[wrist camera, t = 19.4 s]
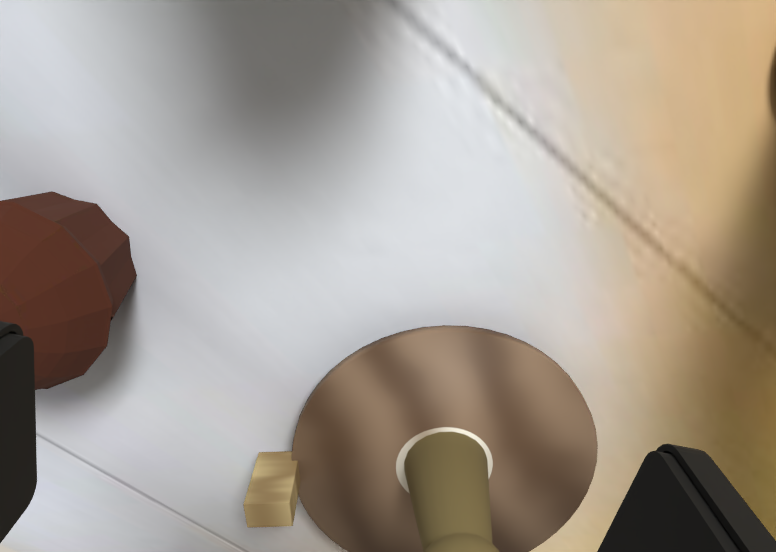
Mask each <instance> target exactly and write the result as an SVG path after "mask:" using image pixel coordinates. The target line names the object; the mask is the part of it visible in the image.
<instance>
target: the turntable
mask: <svg viewBox="0 0 776 552" xmlns="http://www.w3.org/2000/svg"><path fill="white" fill-rule="evenodd" d="M437 432H457V433H461V434H465V435H467V436H469V437H471V438H473V439H474V440H476V441H477V442H478V443H479V444H480V445H481V446H482V448H483V449H484V451H485V454H486V457H487V462H488V478H489V494H490V511H491V527H492V543H493V545H494V546H495V547H496V548H497V549H498V550H499V552H529V551H531V550H532V549H534V548H535V547H537V546H539V545H540V544H542V543H543V542H545V541H546V540H547V539H548V538H550V537H551V536H552V535H553V534H555V533H556V532H557V531H558V530H559V529H560V528H561V527H562V526H563V525H564V524H565V523H566V522H567V521H568V520H569V519H570V518H571V516H572V515H573V514H574V512H575V511H576V510H577V508H578V507H579V506H580V504H581V502H582V500H583V499H584V497H585V495H586V493H587V491H588V489H589V486H590V484H591V481H592V479H593V475H594V471H595V466H596V462H597V436H596V429H595V425H594V422H593V418H592V415H591V412H590V410H589V408H588V406H587V404H586V402H585V400H584V398H583V396H582V394H581V393H580V391H579V389H578V388H577V386H576V385H575V383H574V382H573V381H572V379H571V378H570V376H569V375H568V374H567V373H566V372H565V371H564V370H563V369H562V368H561V367H560V366H559V365H558V364H557V363H556V362H555V361H554V360H552V359H551V358H550V357H548V356H547V355H546V354H544V353H543V352H542V351H540V350H538V349H537V348H535V347H533V346H531V345H530V344H528V343H526V342H524V341H521V340H519V339H517V338H514V337H512V336H509V335H507V334H503V333H499V332H496V331H492V330H488V329H483V328H476V327H469V326H445V325H443V326H433V327H422V328H417V329H412V330H408V331H403V332H399V333H396V334H393V335H390V336H387V337H384V338H381V339H379V340H377V341H375V342H373V343H371V344H368V345H366V346H364V347H362V348H361V349H359V350H357V351H356V352H354V353H353V354H351V355H350V356H348V357H346V358H345V359H344V360H342V361H341V362H340V363H339V364H338V365H336V366H335V367H334V368H333V369H332V370H331V371H329V373H328V374H327V375H326V376H325V377H324V378H323V379H322V380H321V381H320V382H319V384H318V385H317V386H316V388H315V389H314V391H313V392H312V394H311V395H310V397H309V398H308V400H307V402H306V404H305V406H304V408H303V410H302V412H301V414H300V417H299V421H298V424H297V428H296V431H295V436H294V440H293V449H292V451H287V452H259V454H258V457H257V460H256V464H255V467H254V471H253V474H252V477H251V481H250V484H249V487H248V491H247V494H246V498H245V501H244V504H243V505H244V511H245V516H246V522H247V527H277V526H293V520H294V515H295V509H296V504H297V499H298V495H299V497H300V500H301V502H302V504H303V506H304V507H305V509H306V511H307V513H308V514H309V516H310V517H311V518H312V520H313V521H314V522H315V523H316V525H317V526H318V527H319V528H320V529H321V530H322V531H323V532H324V533H325V534H326V535H327V536H328V537H329V538H330V539H331V540H333V541H334V542H335V543H337V544H338V545H339V546H341V547H342V548H343V549H345V550H347V551H349V552H423V548H422V544H421V540H420V535H419V531H418V527H417V523H416V518H415V514H414V510H413V506H412V502H411V497H410V493H409V489H408V485H407V480H406V476H405V472H404V461H405V458H406V455H407V453H408V451H409V450H410V449H411V447H412V446H413V445H414V444H415V443H416V442H417V441H419V440H420V439H422V438H424V437H425V436H427V435H431V434H434V433H437Z"/></svg>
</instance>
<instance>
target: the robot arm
mask: <svg viewBox="0 0 776 552" xmlns="http://www.w3.org/2000/svg"><path fill="white" fill-rule="evenodd" d="M36 484H37V464H36V419H35V373H34V345H33V341H32V339H31V338H29V337H27V336H24V335H23V331H22V329H21V327H20V326H19V325H17V324H14V323H8V322H3V321H0V543H1V542H2V540H3V539H4V538H5V536H6V535H7V534H8V532H9V531H10V530H11V528H12V527H13V526H14V524H15V523H16V522H17V520H18V519H19V518H20V516H21V515H22V514H23V512H24V511H25V510H26V508H27V507H28V505H29V504H30V502H31V500H32V498H33V495H34V492H35V489H36ZM597 552H776V541H775V539H774V538H773V537H772V536H771V534H770V533H769V532H768V531H767V529H766V528H765V527H764V525H763V524H762V523H761V522H760V520H759V519H758V518H757V516H756V515H755V514H754V513H753V511H752V510H751V509H750V507H749V506H748V505H747V504H746V502H745V501H744V500H743V498H742V497H741V496H740V495H739V493H738V492H737V491H736V489H735V488H734V487H733V486H732V484H731V483H730V482H729V480H728V479H727V478H726V477H725V475H724V474H723V473H722V472H721V470H720V469H719V468H718V466H717V465H716V464H715V463H714V461H713V460H712V459H711V457H710V456H709V455H708V454H707V453H705V452H704V451H701V450H698V449H693V448H687V447H682V446H676V445H671V444H664V445H662V446H660V447H659V448H658V449H657V450H656V451H652V452H650V453H648V454H647V456H646V457H645V459H644V461H643V463H642V465H641V467H640V469H639V471H638V473H637V475H636V477H635V479H634V481H633V483H632V485H631V486H630V488H629V490H628V492H627V494H626V496H625V498H624V500H623V502H622V504H621V506H620V508H619V510H618V512H617V514H616V516H615V518H614V520H613V522H612V524H611V526H610V528H609V530H608V532H607V534H606V536H605V538H604V540H603V542H602V544H601V545H600V547H599V549H598V551H597Z"/></svg>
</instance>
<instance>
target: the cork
mask: <svg viewBox="0 0 776 552" xmlns="http://www.w3.org/2000/svg"><path fill="white" fill-rule="evenodd" d="M404 472H405V476H406V480H407V485H408V489H409V493H410V497H411V502H412V506H413V510H414V514H415V518H416V523H417V527H418V531H419V535H420V540H421V544H422V548H423V552H499V550H498V549H497V548H496V547H495V546H494V545H493V543H492V527H491V511H490V494H489V478H488V462H487V457H486V454H485V451H484V449H483V448H482V446H481V445H480V444H479V443H478V442H477V441H476V440H474V439H473V438H471V437H469V436H467V435H465V434H461V433H457V432H437V433H434V434H431V435H427V436H425V437H424V438H422V439H420V440H419V441H417V442H416V443H415V444H414V445H413V446H412V447H411V449H410V450H409V451H408V453H407V455H406V458H405V461H404Z"/></svg>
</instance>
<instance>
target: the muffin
mask: <svg viewBox="0 0 776 552" xmlns="http://www.w3.org/2000/svg"><path fill="white" fill-rule="evenodd" d="M136 276H137V274H136V271H135V268H134V265H133V261H132V258H131V252H130V242H129V236H128V235H126V234H125V233H124V232H123V231H122V230H121V229H120V228H118V227H117V226H116V225H115V224H114V223H113V222H112V221H111V220H110V219H109V218H108V217H107V215H106V214H105V213H104V212H103V211H102V210H101V208H100V207H99V206H98V205H97V204H94V203H89V202H84V201H79V200H74V199H71V198H69V197H66V196H63V195H60V194H58V193H55V192H47V193H42V194H36V195H31V196H25V197H20V198H14V199H9V200H3V201H0V321H3V322H8V323H14V324H17V325H19V326H20V327H21V329H22V331H23V335H24V336H27V337H29V338H31V339H32V341H33V345H34V373H35V390H37V389H48V388H51V387H53V386H56V385H58V384H61V383H64V382H66V381H69V380H71V379H74V378H76V377H79V376H81V375H84V374H85V372H86V371H87V370H88V369H89V367H90V366H91V365H92V364H93V363H94V361H95V360H96V359H97V358H98V356H99V355H100V354H101V353H102V351H103V350H104V349H105V348H106V347H107V343H108V336H109V329H110V321H111V320H112V319H113V317H114V315H115V313H116V311H117V310H118V308H119V306H120V304H121V303H122V301H123V299H124V297H125V295H126V294H127V292H128V290H129V288H130V287H131V285H132V283H133V281H134V279H135V278H136Z"/></svg>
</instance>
